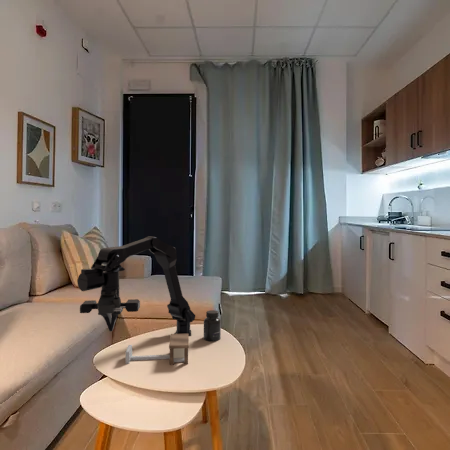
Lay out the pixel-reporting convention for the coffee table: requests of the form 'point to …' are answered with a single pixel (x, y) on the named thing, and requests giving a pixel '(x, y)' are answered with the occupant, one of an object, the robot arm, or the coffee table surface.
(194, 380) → the coffee table surface
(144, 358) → the grey flanged bar
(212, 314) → the supplement bottle
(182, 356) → the cream block
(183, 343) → the walnut tunnel
